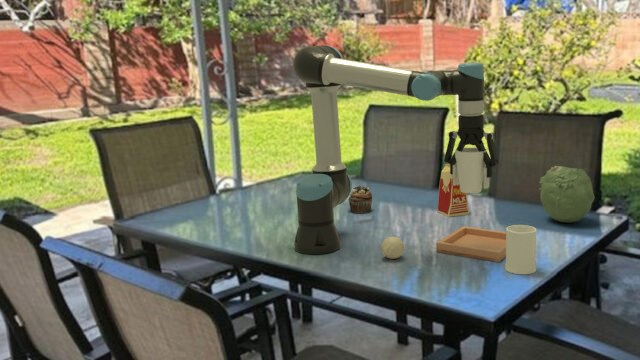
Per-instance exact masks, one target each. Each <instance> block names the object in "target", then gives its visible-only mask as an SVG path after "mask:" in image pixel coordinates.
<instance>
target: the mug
mask: <svg viewBox="0 0 640 360" xmlns="http://www.w3.org/2000/svg"><path fill="white" fill-rule="evenodd" d="M505 229H506V230H505V232H506V257H505V265H504V270H505V271H506V272H508V273H510V274H514V275H531V274H534V273H536V272H537V264H536V263H537V259H536V258H537V228H536V227H534V226H532V225H527V224H513V225H509V226H507V227H506V228H505Z"/></svg>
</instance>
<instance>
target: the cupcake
mask: <svg viewBox="0 0 640 360" xmlns="http://www.w3.org/2000/svg"><path fill="white" fill-rule="evenodd" d="M373 200H374V199H373V194H372V193H371V191H370V187H369V186H361V185H358V186H356V187H352V190H351V193H350V195H349V196H348V198H347V201H348V205H349V207H350V208H349V209H350V212H351V213H353V214H367V213H370V212H371V211H372V205H373Z"/></svg>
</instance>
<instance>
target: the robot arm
mask: <svg viewBox="0 0 640 360" xmlns="http://www.w3.org/2000/svg"><path fill="white" fill-rule="evenodd" d="M292 68H293V71H294V74H295V76H296V77H297V78H298V80H300V81H302V82H303V83H305V88H306V90H307V91H308V92H310V95H311V97H310V98H311V110H312V121H313V122H312V123H313V135H314V137H313V138H314V149H315V161H316V163H315V165H314V166H313V167H312V170H311V171H312V174H308V175H305V176H302V177H300V178H299V179H298V180H297V182H296V186H295V187H296V189H295V194H296V205H297V206H296V207H297V220H298V225H297V226H298V227H297V231H296V234H295V238H294V242H293V243H294V244H293V245H294V250H295V251H296V252H298V253H300V254H305V255H325V254H330V253H334V252H335V251H337V250H340V248H341V238H340V237H339V233H338V231H337V228H336V226H335V215H334V213H335V212H334V211H335V210H334V208H336V207H337V206H339V205H341V204H343V203H344V202H345V201H346V200H348V199H349V197H350V194H351V193H352V190H353V182H352V179H351V176H350V175H349V174H348V173H347V165H345V163H343V161H342V150H341V149H342V148H341V135H340V133H341V132H340V124H339V123H340V119H339V118H340V117H339V107H338V105H339V103H338V90H339V89H340V87H342V85H344V86H350V87H355V88H361V89H367V90H372V91H379V92H385V93H390V94H396V95H402V96H406V97H407V96H408V97H411V98H416V99H418V100H419V101H426V102H428V101H432V100H434V99H436V98H438V97H439V96H458V97H457V99H458V100H457V101H458V105H457V111H458V114H459V116H458V121H457V122H458V123H457V124H458V129H457V131H454V130H452V131H450V132H448V143H447V147H446V150H445V154H444V160H443V161H444V163H446V164H450V174H453V185H454V186H455V185H457V184H459V177H458V170H457V164H456V163H457V162H456V158H455V152H454V148H455V145H456V141H457V140H456V139H457V138H458V139H460V140H459V142H458V144H457V147H456V149H455V150H458V151H460V152H462V150H463V148H465V147H466V146H468V145H471V146H475V148H477V149H478V151H479V152H481V151H485V150H486V146H485V145H484V144H485V143H484V142H483V139H485V140H486V144H487V149H488V150H487V151H486V152H483V161H484V163H485V167H484V175H483V189H488V188H490V178H492V177H493V168H494V167H495V166H497V165H499V162H500V161H499V157H498V154H497V149H496V145H495V141H494V138H495V133H494V132H485V130H484V127H485V124H484V121H485V120H484V119H485V117H484V115H483V114H484V112H485V111H484V110H485V107H484V106H485V105H484V103H485V101H484V100H485V98H484V97H485V95H484V94H485V92H484V91H485V76H484V72H485V71H484V65H483V64H482V63H481V62H467V63H466V62H464V63H463V62H462V63H459V64H458V67H457V69H454V70H423V71H419V70H412V69H406V68H400V67H394V66H387V65H382V64H376V63H369V62H368V63H367V62H365V61H363V62H362V61H357V60H352V59H351V60H350V59H345V58H343V55H342V53H341V52H340V51H339V50H338V49H337V48H335V46H334V47H333V46H331V45H326V44H325V45H323V44H320V45H310V46H304V47H303V48H300V50H298V51H297V53H296V54H295V55H294V58H293V62H292ZM453 152H454V153H453ZM488 153H489V154H488Z"/></svg>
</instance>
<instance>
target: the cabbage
mask: <svg viewBox="0 0 640 360" xmlns="http://www.w3.org/2000/svg"><path fill="white" fill-rule="evenodd" d="M539 179H540V180H539V183H538V184H540V187H539V188H538V190H539V191H540V195H539V196H540V201H541V204H542V207H543V208H544V211H545V212H546V213H547V215H549V217H550V218H552V219H553V220H555V221H557V222H559V223H564V224H565V223H567V224H568V223H569V224H571V223H576V222H578V221H580V220H581V219H583V218H584V217H585V216H586V215H587V214H588V213H589V212H590V211H591V208H592V203H594V201H595V194H594V190H593V184H592V180H591V177H590V176H588V174H587V171H586V170H584V169H582V168H577V167H575V168H573V167H572V168H571V167H569V166H568V167H567V166H563V165H560V166H559V165H553V166H551V167H550V169H548V170H547V171H545V175H544V176H541V177H540V178H539Z"/></svg>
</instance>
